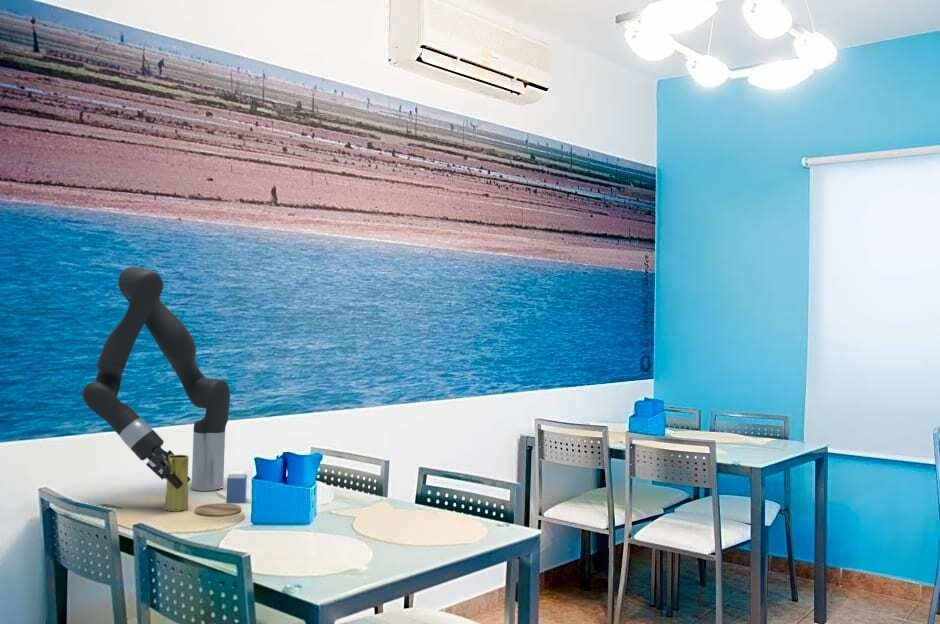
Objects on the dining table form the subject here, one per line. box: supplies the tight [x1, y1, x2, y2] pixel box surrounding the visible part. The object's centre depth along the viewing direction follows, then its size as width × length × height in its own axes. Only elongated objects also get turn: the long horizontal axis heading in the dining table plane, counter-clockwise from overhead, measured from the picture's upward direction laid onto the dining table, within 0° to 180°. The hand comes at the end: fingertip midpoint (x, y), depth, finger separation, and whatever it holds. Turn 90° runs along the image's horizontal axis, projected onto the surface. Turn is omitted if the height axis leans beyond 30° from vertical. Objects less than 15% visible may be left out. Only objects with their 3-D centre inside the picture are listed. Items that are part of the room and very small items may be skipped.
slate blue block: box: [225, 470, 248, 504], centre depth 243 cm, size 5×5×8 cm
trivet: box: [194, 502, 242, 518], centre depth 230 cm, size 12×12×1 cm
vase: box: [164, 454, 189, 512], centre depth 231 cm, size 6×6×14 cm
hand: (184, 484), depth 231 cm, fingers closed on vase, 5 cm apart
